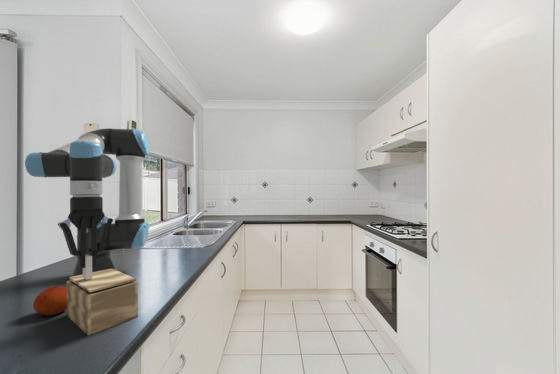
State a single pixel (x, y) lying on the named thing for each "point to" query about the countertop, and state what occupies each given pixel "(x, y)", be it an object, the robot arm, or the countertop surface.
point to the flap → (102, 280)
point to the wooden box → (101, 306)
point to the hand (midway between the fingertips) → (87, 278)
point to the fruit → (51, 301)
